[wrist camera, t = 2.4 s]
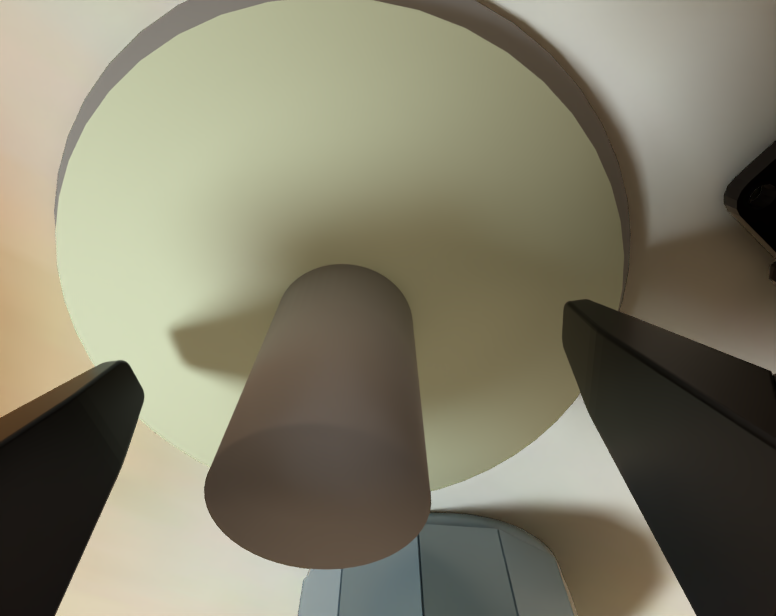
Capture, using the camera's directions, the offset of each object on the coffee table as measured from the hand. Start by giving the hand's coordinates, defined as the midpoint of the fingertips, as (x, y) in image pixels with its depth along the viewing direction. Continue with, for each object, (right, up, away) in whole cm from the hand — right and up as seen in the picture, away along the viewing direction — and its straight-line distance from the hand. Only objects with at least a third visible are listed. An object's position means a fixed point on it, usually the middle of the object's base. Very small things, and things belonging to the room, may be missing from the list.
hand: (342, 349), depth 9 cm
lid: (0, +1, +1) cm, 2 cm away
